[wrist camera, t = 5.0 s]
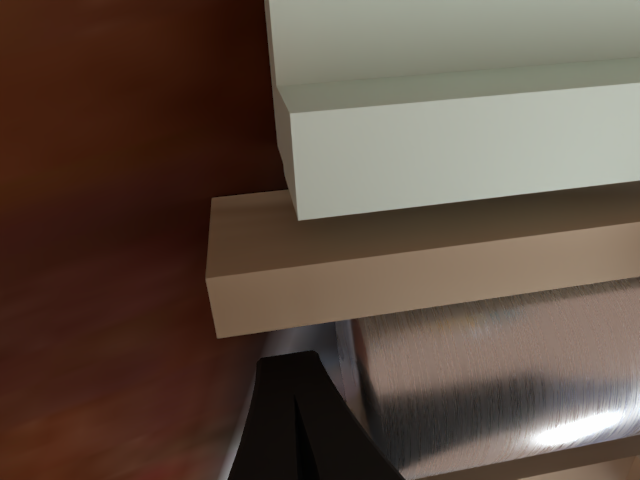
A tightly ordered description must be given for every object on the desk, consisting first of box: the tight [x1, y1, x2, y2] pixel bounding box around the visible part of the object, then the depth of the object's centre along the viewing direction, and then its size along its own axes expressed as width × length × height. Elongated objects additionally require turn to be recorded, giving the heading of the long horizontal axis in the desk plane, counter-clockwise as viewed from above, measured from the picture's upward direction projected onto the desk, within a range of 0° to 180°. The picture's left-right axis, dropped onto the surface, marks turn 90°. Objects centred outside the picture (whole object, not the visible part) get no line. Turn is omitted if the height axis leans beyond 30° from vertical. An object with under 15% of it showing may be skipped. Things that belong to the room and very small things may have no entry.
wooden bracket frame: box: [205, 180, 640, 480], centre depth 10 cm, size 8×12×6 cm, turn 93°
